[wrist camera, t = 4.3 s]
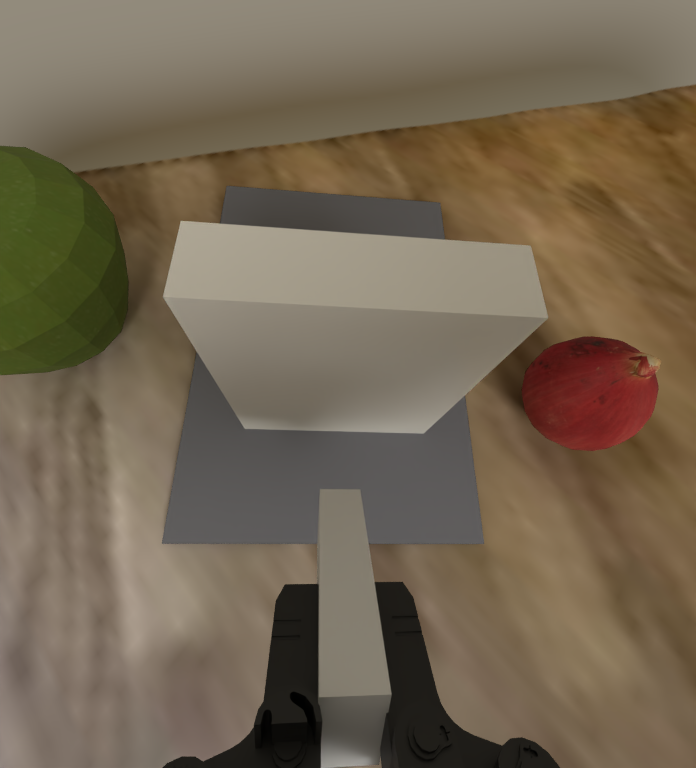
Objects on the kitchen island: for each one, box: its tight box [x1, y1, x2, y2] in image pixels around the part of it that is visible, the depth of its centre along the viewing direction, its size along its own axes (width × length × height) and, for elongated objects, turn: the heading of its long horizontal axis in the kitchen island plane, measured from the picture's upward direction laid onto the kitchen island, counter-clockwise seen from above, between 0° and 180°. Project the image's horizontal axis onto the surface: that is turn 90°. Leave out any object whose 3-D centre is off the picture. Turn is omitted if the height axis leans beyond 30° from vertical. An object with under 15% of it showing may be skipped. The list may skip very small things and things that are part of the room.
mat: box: [162, 186, 484, 544], centre depth 23 cm, size 24×16×1 cm, turn 0°
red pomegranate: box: [522, 337, 661, 451], centre depth 19 cm, size 6×6×8 cm
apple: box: [0, 146, 128, 375], centre depth 18 cm, size 11×10×10 cm
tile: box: [163, 221, 548, 434], centre depth 16 cm, size 3×10×12 cm, turn 90°
